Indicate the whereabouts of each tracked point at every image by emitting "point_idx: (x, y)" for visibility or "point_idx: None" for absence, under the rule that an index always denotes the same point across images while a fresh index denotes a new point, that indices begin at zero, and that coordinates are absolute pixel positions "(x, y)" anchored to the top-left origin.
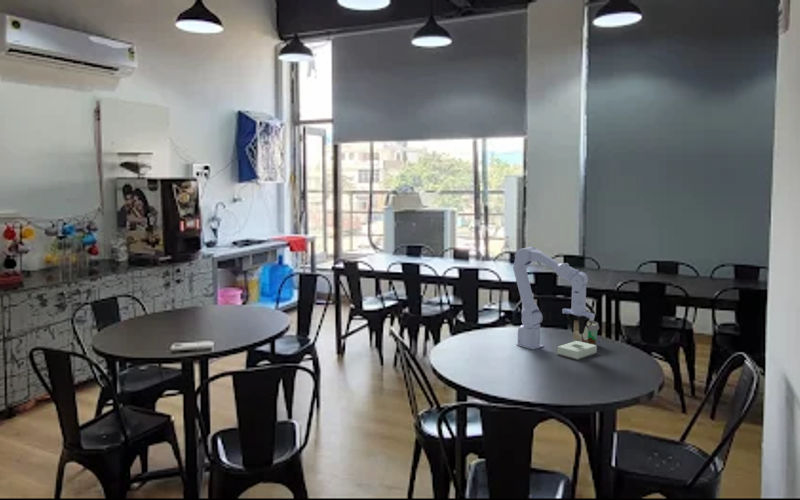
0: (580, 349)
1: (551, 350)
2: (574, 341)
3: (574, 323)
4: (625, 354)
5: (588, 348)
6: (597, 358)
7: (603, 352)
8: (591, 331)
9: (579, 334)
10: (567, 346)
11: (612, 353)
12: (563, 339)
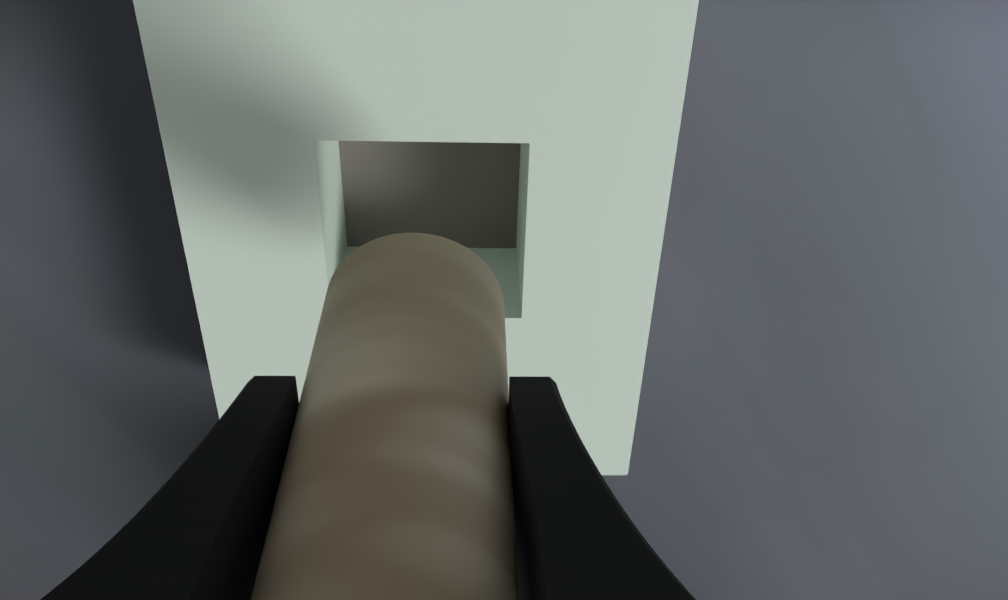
0: (208, 73)
1: (896, 23)
2: (628, 422)
3: (429, 580)
4: (19, 567)
5: (190, 261)
6: (55, 196)
7: None
8: None
9: (308, 371)
10: (543, 66)
11: (137, 508)
12: (943, 570)
